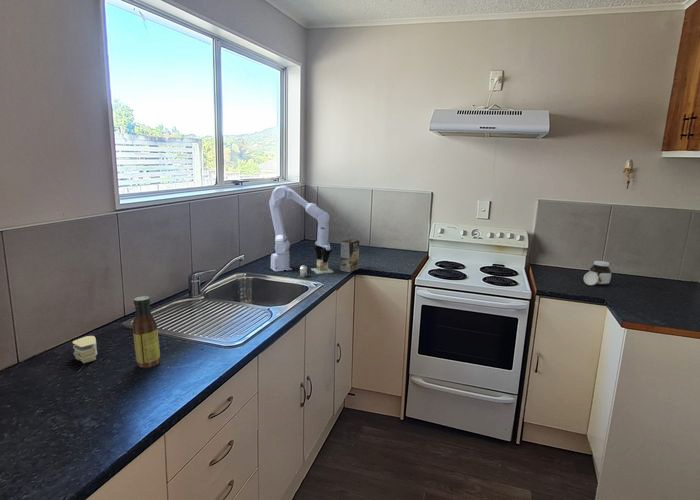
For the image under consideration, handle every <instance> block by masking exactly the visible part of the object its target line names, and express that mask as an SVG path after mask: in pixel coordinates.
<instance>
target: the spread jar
mask: <svg viewBox="0 0 700 500" xmlns="http://www.w3.org/2000/svg"><path fill="white" fill-rule="evenodd" d="M611 278H612V270H611V268H610V262H609V261H605V260H594V261H593V264H592V265H591V266H590V267H589V271H588V272H586V273H585V274H584V275H583V282H584V284H585V285H588V286H594V285H595V286H600V287H606V286H607V285H609V284H610V281H611Z"/></svg>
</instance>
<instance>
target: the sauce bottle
mask: <svg viewBox="0 0 700 500" xmlns="http://www.w3.org/2000/svg"><path fill="white" fill-rule="evenodd" d="M150 303H151V298H150V296H148V295H147V296H146V295H145V296H143V295H142V296H138V297H137V296H136V297H134V298H133V305H134V308H135V316H134V318H133V320H132V333H133V334H132V335H133V343H134V352H135V361H136V363H137V367H139V368H142V369H148V368H152V367H155V366H158V365H159V363H160V362H161V350H160V341H159V333H158V325H157V323H156V320H155V319H154V316H153V314H152V312H151V304H150Z"/></svg>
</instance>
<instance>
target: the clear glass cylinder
mask: <svg viewBox="0 0 700 500" xmlns="http://www.w3.org/2000/svg"><path fill="white" fill-rule="evenodd" d="M307 275H308V266H306V265H304V266H302V265H300V266H299V277H300V278H307V277H308V276H307Z"/></svg>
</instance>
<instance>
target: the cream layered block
mask: <svg viewBox="0 0 700 500" xmlns="http://www.w3.org/2000/svg"><path fill="white" fill-rule="evenodd" d="M72 344H74V345H73V346H72V348H73V349H74V352H73V355H74V356H75V360H76V359H77V360H76V361H80V362H82V363H83V364H86V363H90V362H93V361H96V360H97V355H98V350H97V346H98V345H97V339H96V337H95V336H94V335H87V336H83V337H81V338H78V339H75V340H73V341H72Z"/></svg>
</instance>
